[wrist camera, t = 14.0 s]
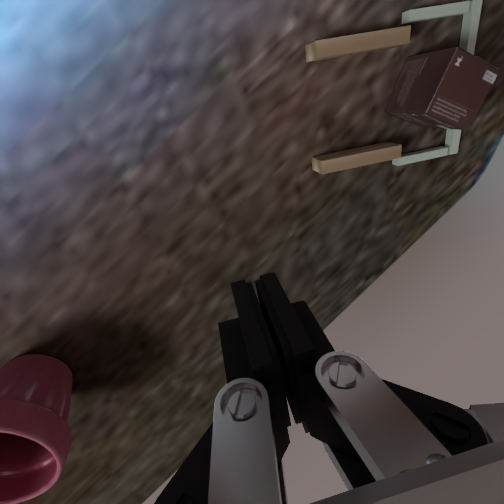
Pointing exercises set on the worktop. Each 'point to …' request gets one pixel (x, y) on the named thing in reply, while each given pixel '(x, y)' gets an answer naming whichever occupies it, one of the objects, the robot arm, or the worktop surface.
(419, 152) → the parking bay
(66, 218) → the worktop surface
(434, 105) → the box
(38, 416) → the plant pot
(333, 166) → the channel
